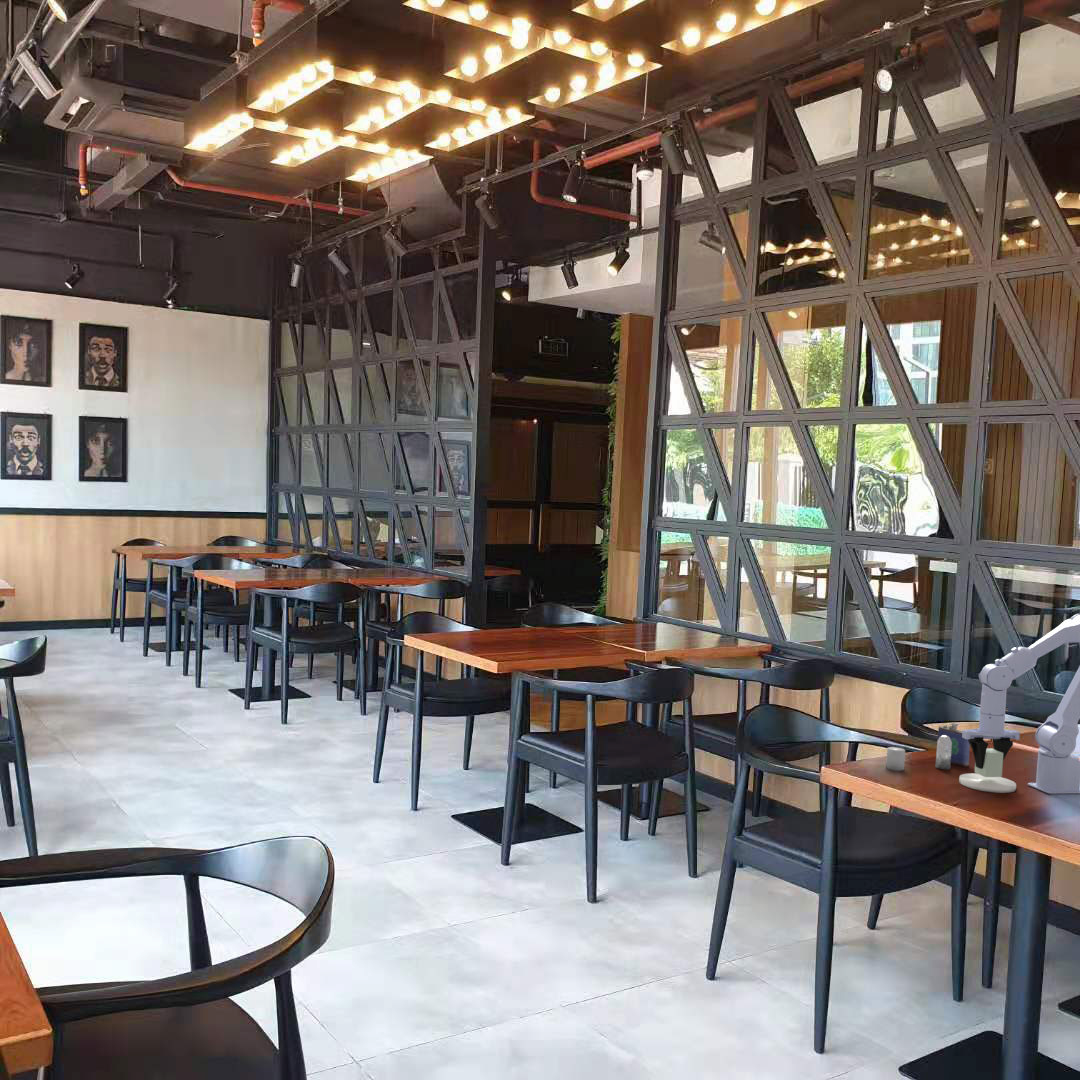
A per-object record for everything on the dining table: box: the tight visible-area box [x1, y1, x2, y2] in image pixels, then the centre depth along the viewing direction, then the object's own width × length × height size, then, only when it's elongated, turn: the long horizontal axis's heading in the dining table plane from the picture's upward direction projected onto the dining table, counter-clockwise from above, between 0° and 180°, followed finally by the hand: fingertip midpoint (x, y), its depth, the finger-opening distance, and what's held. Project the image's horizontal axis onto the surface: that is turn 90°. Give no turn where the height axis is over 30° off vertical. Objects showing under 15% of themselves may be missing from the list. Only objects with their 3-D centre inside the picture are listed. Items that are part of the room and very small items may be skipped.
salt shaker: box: [935, 735, 952, 770], centre depth 283 cm, size 4×4×9 cm
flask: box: [935, 722, 971, 767], centre depth 289 cm, size 9×3×11 cm, turn 37°
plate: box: [958, 772, 1017, 794], centre depth 267 cm, size 13×13×1 cm
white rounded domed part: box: [885, 746, 906, 772], centre depth 279 cm, size 4×4×5 cm
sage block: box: [974, 747, 1004, 778], centre depth 267 cm, size 4×4×6 cm
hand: (988, 767), depth 267 cm, fingers closed on sage block, 4 cm apart
